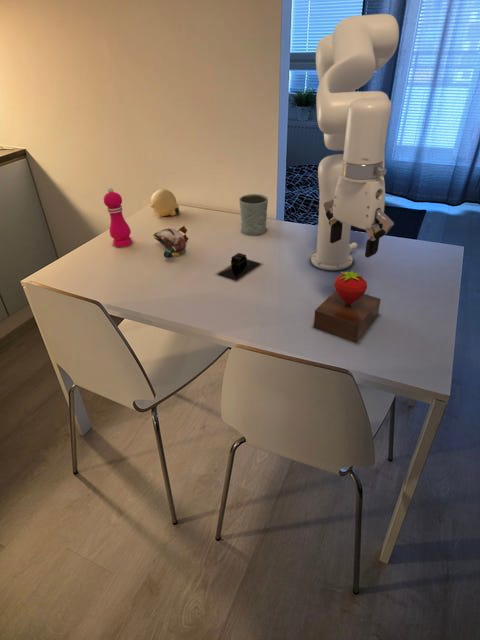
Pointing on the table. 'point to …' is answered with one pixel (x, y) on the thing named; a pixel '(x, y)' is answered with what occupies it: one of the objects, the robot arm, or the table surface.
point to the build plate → (238, 267)
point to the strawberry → (350, 286)
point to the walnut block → (346, 316)
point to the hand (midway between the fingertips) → (352, 248)
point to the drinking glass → (253, 213)
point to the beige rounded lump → (164, 203)
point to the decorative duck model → (172, 241)
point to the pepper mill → (117, 220)
